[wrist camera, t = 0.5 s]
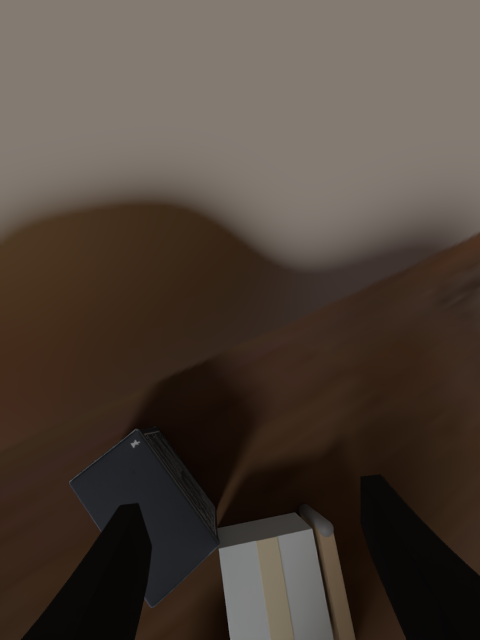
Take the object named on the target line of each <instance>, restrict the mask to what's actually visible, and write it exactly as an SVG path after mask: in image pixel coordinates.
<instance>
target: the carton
mask: <svg viewBox="0 0 480 640" xmlns="http://www.w3.org/2000/svg"><path fill="white" fill-rule="evenodd" d="M217 531H218V537H219V540H220V545H219V554H220V562H221V570H222V578H223V586H224V594H225V602H226V610H227V618H228V626H229V634H230V640H334V639H333V634H332V629H331V624H330V618H329V613H328V608H327V603H326V598H325V592H324V587H323V582H322V577H321V572H320V566H319V561H318V556H317V551H316V545H315V540H314V535H313V530H312V528H311V527H310V526H309V525H308V524H307V523H306V522H305V521H304V520H303V519H302V518H300V517H299V516H298V515H297V514H296V513H295V512H294V513H289V514H284V515H280V516H275V517H270V518H265V519H260V520H255V521H250V522H245V523H241V524H236V525H231V526H226V527H221V528H217Z"/></svg>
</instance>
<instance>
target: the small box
mask: <svg viewBox="0 0 480 640" xmlns="http://www.w3.org/2000/svg"><path fill="white" fill-rule="evenodd" d="M69 484H70V486H71V488H72V489H73V491H74V492H75V494H76V495H77V497H78V498H79V500H80V501H81V503H82V504H83V506H84V507H85V509H86V510H87V512H88V513H89V515H90V516H91V518H92V519H93V521H94V522H95V524H96V525H97V527H98V528H99V530H100V531H101V532H102V531H103V529H104V528H105V526H106V525H107V523H108V522H109V520H110V519H111V517H112V516H113V514H114V513H115V511H116V510H117V508H118V507H119V506H120V505H124V504H132V503H139V506H140V509H141V512H142V515H143V519H144V522H145V525H146V528H147V531H148V534H149V538H150V541H151V544H152V554H151V562H150V570H149V577H148V584H147V588H146V593H145V597H144V598H145V600H146V602H147V603H148V605H149V606H150V607H151V608H152V607H154V606H155V605H157V604H158V603H159V602H160V601H161V600H162V599H163V598H165V597H166V596H167V595H168V594H169V593H170V592H171V591H172V590H173V589H174V588H175V587H176V586H177V585H178V584H180V583H181V582H182V581H183V580H184V579H185V578H186V577H187V576H188V575H189V574H190V573H191V572H192V571H193V570H194V569H195V568H196V567H197V566H199V565H200V564H201V563H202V562H203V561H204V560H205V559H206V558H207V557H208V556H209V555H210V554H211V553H212V552H213V551H214V550H215V549H216V548H217V547H218V546H219V545H220V540H219V537H218V531H217V516H216V510H217V509H216V507H215V506H214V505H213V503H212V502H211V500H210V499H209V497H208V496H207V495H206V493H205V492H204V490H203V489H202V488H201V486H200V485H199V483H198V482H197V480H196V479H195V478H194V476H193V475H192V474H191V472H190V471H189V470H188V468H187V467H186V465H185V464H184V463H183V461H182V460H181V458H180V457H179V455H178V454H177V453H176V452H175V450H174V449H173V447H172V446H171V445H170V443H169V442H168V441H167V439H166V438H165V437H164V435H163V434H162V433H161V431H160V430H159V428H158V427H155V426H152V428H145V429H134V430H133V431H132V432H131V433H130V434H128V435H127V436H126V437H125V438H123V439H122V440H121V441H120V442H118V443H117V444H116V445H114V446H113V447H112V448H111V449H109V450H108V451H107V452H106V453H104V454H103V455H102V456H101V457H99V458H98V459H97V460H95V461H94V462H93V463H91V464H90V465H89V466H88V467H87V468H85V469H84V470H82V471H81V472H80V473H79V474H78V475H76V476H75V477H74V478H72V479H71V480H70V482H69Z"/></svg>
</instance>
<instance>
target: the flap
mask: <svg viewBox="0 0 480 640" xmlns="http://www.w3.org/2000/svg"><path fill="white" fill-rule="evenodd" d="M299 513H300V515H301V518H302V519H303V520H304V521H305V522H306V523H307V524H308V525H309V526H310V527H311V528H312V530H313V535H314V540H315V545H316V551H317V556H318V561H319V566H320V572H321V577H322V582H323V587H324V592H325V598H326V603H327V608H328V613H329V618H330V624H331V629H332V634H333V639H334V640H355V635H354V630H353V625H352V620H351V615H350V611H349V606H348V601H347V596H346V591H345V586H344V581H343V577H342V572H341V567H340V562H339V557H338V552H337V547H336V543H335V538H334V533H333V531H334V528H333V525H332V523H331V522H329V521H328V520H327V519H325V518H324V517H323V516H321V515H320V514H319V513H317V512H316V511H315V510H314V509H312V508H311V507H310V506H308V505H307V504H302V505H301V506H300V507H299Z"/></svg>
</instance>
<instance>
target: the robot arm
mask: <svg viewBox="0 0 480 640" xmlns="http://www.w3.org/2000/svg"><path fill="white" fill-rule="evenodd" d="M361 525H362V528H363V532H364V535H365V538H366V541H367V545H368V548H369V551H370V554H371V557H372V560H373V562H374V564H375V567H376V569H377V572H378V574H379V576H380V579H381V581H382V583H383V586H384V588H385V590H386V593H387V595H388V598H389V600H390V602H391V605H392V607H393V609H394V612H395V614H396V616H397V619H398V621H399V623H400V626H401V628H402V630H403V633H404V635H405V637H406V640H480V576H479V575H478V574H477V573H476V572H475V571H474V570H473V569H472V568H471V567H469V566H468V565H467V564H466V563H465V562H464V561H463V560H462V559H461V558H460V557H459V556H458V555H457V554H455V553H454V552H453V551H452V550H451V549H450V548H449V547H448V546H447V545H446V544H445V543H444V542H443V541H442V540H441V539H440V538H439V537H438V536H437V535H436V534H435V533H434V532H433V531H432V530H431V529H430V528H429V527H428V526H427V525H426V524H425V523H424V522H423V521H422V520H421V519H420V518H419V517H418V516H417V515H416V514H415V512H414V511H413V510H412V509H411V508H410V507H409V506H408V505H407V504H406V503H405V502H404V500H403V499H402V498H401V497H400V496H399V495H398V494H397V493H396V492H395V490H394V489H393V488H392V487H391V486H390V485H389V483H388V482H387V481H386V480H385V479H384V478H383V477H382V476H381V475H371V476H363V477H361ZM151 554H152V544H151V541H150V538H149V534H148V531H147V528H146V525H145V522H144V519H143V515H142V512H141V509H140V506H139V503H132V504H124V505H120V506H119V507H118V508H117V510H116V511H115V513H114V514H113V516H112V517H111V519H110V520H109V522H108V523H107V525H106V526H105V528H104V529H103V531H102V532H101V534H100V535H99V537H98V538H97V540H96V541H95V542H94V544H93V545H92V547H91V548H90V550H89V551H88V553H87V554H86V555H85V557H84V558H83V560H82V561H81V563H80V564H79V565H78V567H77V568H76V570H75V571H74V572H73V574H72V575H71V577H70V578H69V579H68V581H67V582H66V583H65V585H64V586H63V587H62V589H61V590H60V591H59V593H58V594H57V595H56V596H55V598H54V599H53V600H52V602H51V603H50V604H49V606H48V607H47V608H46V610H45V611H44V612H43V613H42V615H41V616H40V617H39V618H38V620H37V621H36V622H35V623H34V625H33V626H32V627H31V628H30V629H29V631H28V632H27V633H26V634H25V635H24V637H23V638H22V639H21V640H135V635H136V631H137V627H138V623H139V619H140V614H141V610H142V606H143V601H144V597H145V593H146V588H147V584H148V577H149V570H150V562H151Z"/></svg>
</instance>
